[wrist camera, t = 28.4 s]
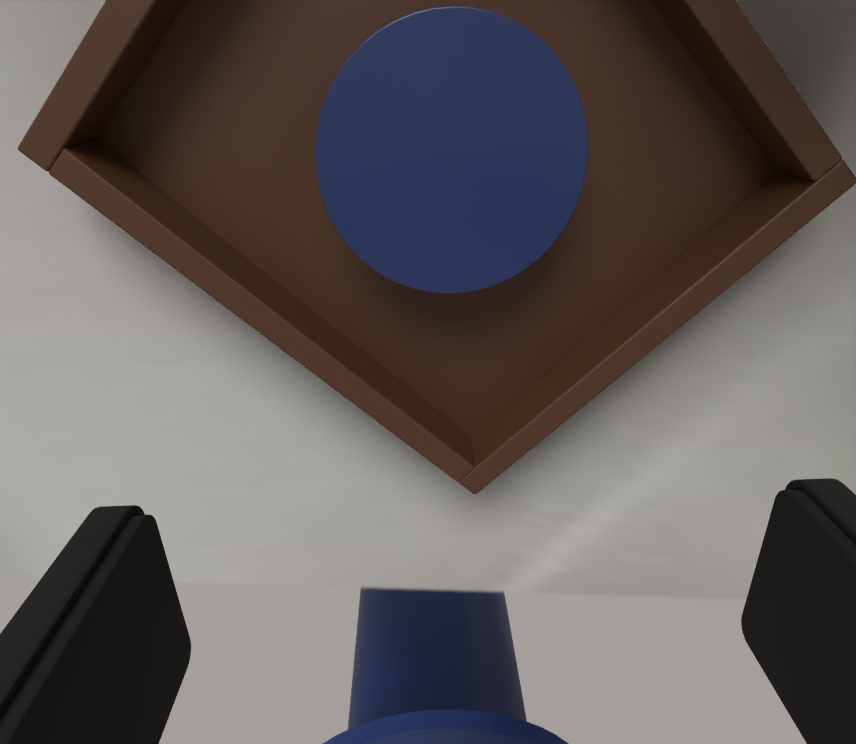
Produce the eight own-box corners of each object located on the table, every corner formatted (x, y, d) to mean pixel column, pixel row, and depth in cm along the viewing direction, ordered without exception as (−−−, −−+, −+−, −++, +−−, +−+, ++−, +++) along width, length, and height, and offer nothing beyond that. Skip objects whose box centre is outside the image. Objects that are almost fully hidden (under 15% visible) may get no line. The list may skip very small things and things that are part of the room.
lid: (276, 150, 16) (255, 165, 14) (445, -56, 14) (451, -77, 12) (445, 305, 18) (450, 340, 16) (612, 147, 16) (644, 162, 14)
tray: (804, 165, 17) (860, 181, 15) (468, 452, 22) (474, 495, 19) (402, -396, 12) (401, -494, 10) (66, 136, 16) (15, 149, 14)
